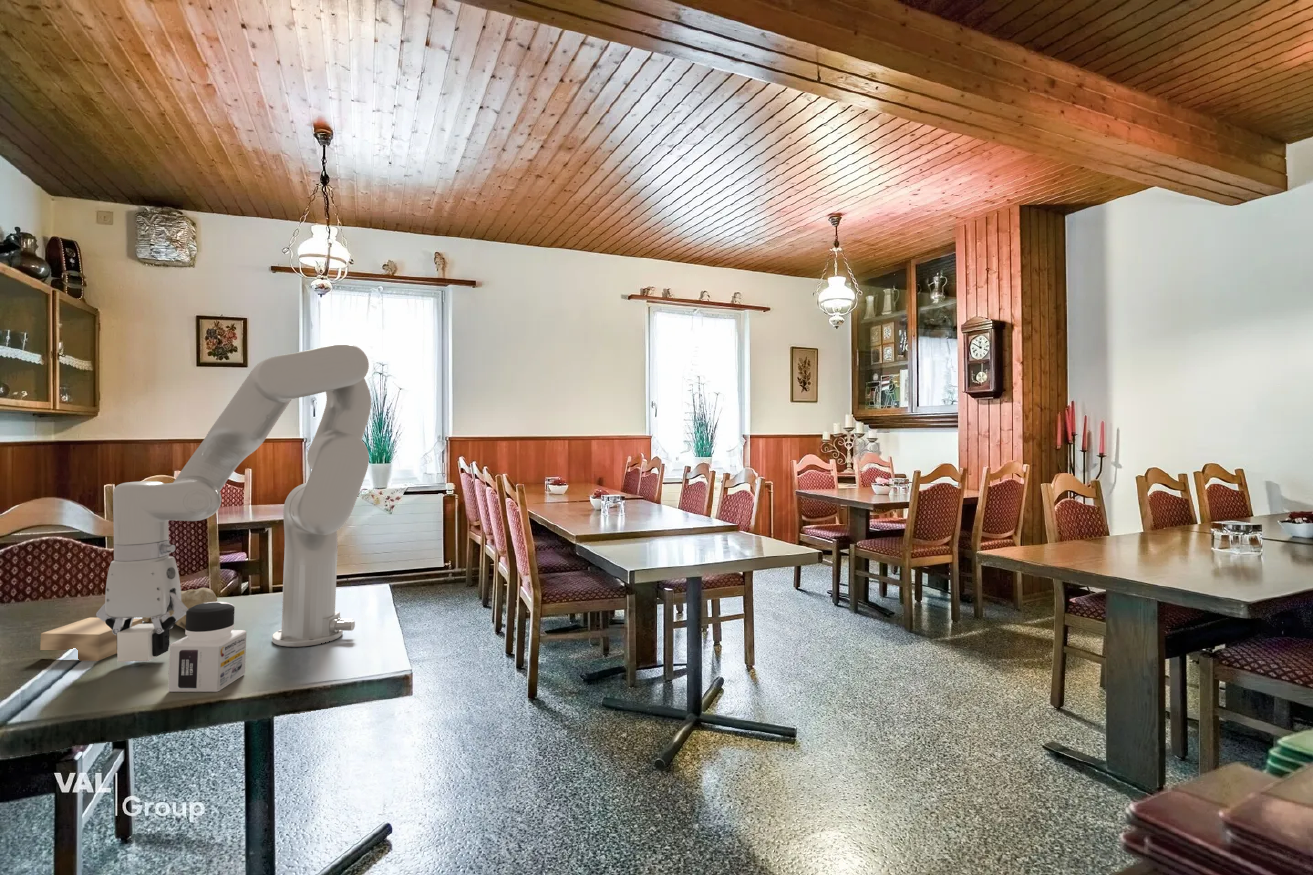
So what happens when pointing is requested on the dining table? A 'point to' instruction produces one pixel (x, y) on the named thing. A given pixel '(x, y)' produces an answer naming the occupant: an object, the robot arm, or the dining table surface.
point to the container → (207, 650)
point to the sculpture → (191, 602)
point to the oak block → (84, 639)
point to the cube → (135, 643)
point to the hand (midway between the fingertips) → (143, 652)
